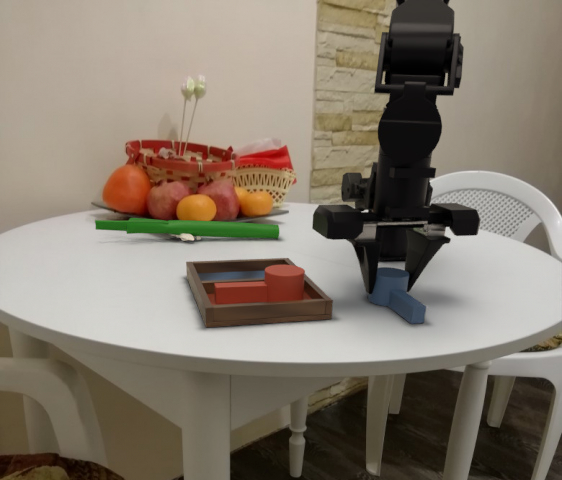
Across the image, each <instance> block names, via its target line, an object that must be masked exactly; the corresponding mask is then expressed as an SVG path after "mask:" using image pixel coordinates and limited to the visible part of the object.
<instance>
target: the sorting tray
mask: <svg viewBox="0 0 562 480" xmlns="http://www.w3.org/2000/svg"><path fill="white" fill-rule="evenodd" d="M272 265H293V266H297V264H295V262H293V261H292V260H291V259H290V258H289V257H277V258H249V259H224V260H223V259H222V260H196V261H195V260H193V261H186V262H185V267H186V268H185V269H186V279H187V282H188V284H189V287H190V289H191V292H192V295H193V297H194V300H195V303H196V305H197V307H198V311H199V313H200V315H201V316H200V317H201V318H202V321H203V323H204V326H205V328H219V327H235V326H250V325H262V324H264V325H265V324H276V323H277V324H278V323H292V322H306V321H321V320H332V317H333V316H332V314H333V303H334V300H333V299H332V298H331V297H330V296H329V295H328V294H327V293H326V292H325V291H323V289H322V288H320V287H319V286H318V285H317V284H316V283H315V282H314V281H313V280H312V279H311V278H310V277H309V276H308V275H307V274H306V273H305V279H304V297H303V300H293V301H275V302H255V303H232V304H216V302H215V296H214V283H233V282H262V281H264V277H265V268H266V267H269V266H272Z"/></svg>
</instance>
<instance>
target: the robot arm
mask: <svg viewBox="0 0 562 480" xmlns="http://www.w3.org/2000/svg"><path fill="white" fill-rule="evenodd" d="M450 1H451V0H395V8H394V9H392V11H391V14H390V21H389V26H388V31H382V32H381V38H380V43H379V51H378V59H377V67H376V68H377V69H376V73H375V80H374V81H375V82H374V90H373V93H374V94H383V95H389V97H388V102H387V103H385V106H384V107H383V108H382V114H381V116H380V119H379V121H378V125H377V139H378V143H379V147H378V156H377V161H373V162H372V166H371V169H370V174H369V177H363V175H362V173H361V172H345V173H344V174H342V179H341V186H340V194H341V201H342V202H343V203H354V207H353V206H350V205H349V204H318V206H317V207H316V208H315V210H314V212H313V214H312V230H313V231H315V232H316V233H318V234H319V235H321V236H322V237H323V238H325V239H327V240H333V241H336V240H337V241H340V240H346V241H347V242H349V243H350V244H351V246H352V247H353V250H354V253H355V255H356V257H357V261H358V265H359V268H360V273H361V277H362V282H363V286H364V290H365V292H366V294H372V293H373V289H374V286H375V282H376V275H377V269H378V268H379V262H380V261H405V264H404V268H403V270H405V271H407V272H408V273H409V281H408V288H407V293H409V292H410V291H411V290H412V289H413V287H414V285H415V284H416V282H417V281H418V279H419V278H420V276H421V275H422V273H423V272H424V270H425V269H426V267H427V266H428V265H429V263H430V262H431V260H432V259H433V258H435V256H436V254H437V253H438V252H439V251H440V249H441V248H442V247H443V246H444V245H445V244H446V245H447V244H448V245H449V244H450V243H451V241H452V240H451V239H452V238H451V237H448V236H446V229H447V228H449V230H450V231H451V233H452V234H453V235H454V236H456V237H469V236H470V237H471V236H477V235H479V230H480V225H481V222H482V221H481V217H480V214H479V212H478V210H477V209H476V208H473V207H470V206H467V205H464V204H461V203H458V202H445V203H444V202H442V203H441V202H437V203H436V202H435V203H433V202H432V203H431V201H432V196H433V191H434V187H433V186H432V185H431V179H435V178H436V172H437V168H436V167H433V166H431V164H432V155H433V151H435V149H436V148H437V146H438V144H439V142H440V139H441V136H442V132H443V122H442V117H441V114H440V111H439V109H438V105H437V99H438V96H439V97H441V96H442V97H443V96H444V97H453V96H454V93H455V89H460V87H461V82H462V77H463V75H462V74H463V65H464V64H463V63H464V47H465V46H463V44H462V43H461V42H462V41H461V40H462V36H461V33H460V32H455V10H454V9H453V8H452V7H450V5H449V3H450ZM446 74H447V75H446ZM446 76H447V79H446ZM383 78H384V79H383ZM383 80H384V83H383ZM445 83H446V85H445Z"/></svg>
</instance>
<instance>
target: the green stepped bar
mask: <svg viewBox="0 0 562 480" xmlns="http://www.w3.org/2000/svg"><path fill="white" fill-rule="evenodd" d="M94 223H95V230H99V231H100V230H101V231H118V232H125V233H126V234H127V235H128V234H167V235H168V236H172V237H175V238H177V239H180V240H181V241H183V242H187V241H195V239H196V241H201V239H202V237H203V238H204V237H205V238H207V237H208V238H209V237H210V238H233V239H234V238H235V239H236V238H238V239H274V240H275V239H279V237H280V226H279V224H271V223H251V222H240V221H239V222H238V221H218V220H217V221H216V220H215V221H214V220H194V219H193V220H190V219H189V220H188V219H186V220H185V219H183V220H182V219H174V220H173V219H170V220H169V219H168V220H164V219H154V218H141V217H129V219H128V220H111V219H110V220H109V219H108V220H105V219H104V220H103V219H95V220H94Z"/></svg>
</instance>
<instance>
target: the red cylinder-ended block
mask: <svg viewBox="0 0 562 480" xmlns="http://www.w3.org/2000/svg"><path fill="white" fill-rule="evenodd" d="M305 271H306V270H305V269H304V268H302V267H300V266H297V265H296V266H293V265H272V266H269V267H266V268H265V277H264V281H262V282H233V283H214V296H215V302H216V304H232V303H255V302H275V301H293V300H303V297H304V279H305V274H306V272H305Z"/></svg>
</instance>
